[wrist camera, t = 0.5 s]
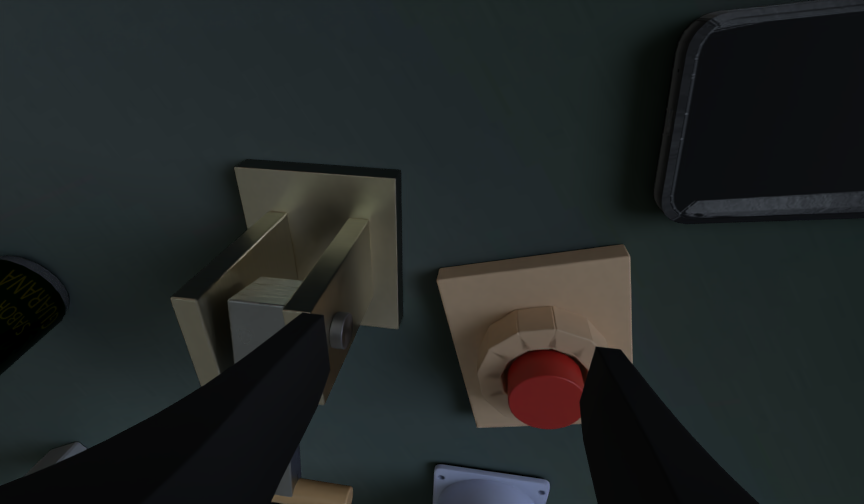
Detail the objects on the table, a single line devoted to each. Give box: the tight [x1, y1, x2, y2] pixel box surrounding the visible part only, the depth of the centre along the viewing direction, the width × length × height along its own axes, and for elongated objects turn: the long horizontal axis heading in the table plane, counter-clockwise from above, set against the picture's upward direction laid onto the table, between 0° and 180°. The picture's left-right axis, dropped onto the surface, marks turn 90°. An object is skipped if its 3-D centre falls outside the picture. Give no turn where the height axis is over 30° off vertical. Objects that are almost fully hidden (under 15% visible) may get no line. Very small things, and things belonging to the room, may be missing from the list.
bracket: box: [170, 159, 403, 405], centre depth 19 cm, size 9×8×8 cm
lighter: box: [25, 442, 87, 476], centre depth 34 cm, size 7×2×8 cm, turn 118°
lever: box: [227, 277, 353, 504], centre depth 18 cm, size 10×6×2 cm, turn 178°
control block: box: [437, 244, 633, 428], centre depth 22 cm, size 11×9×3 cm
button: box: [507, 350, 584, 429], centre depth 20 cm, size 4×4×2 cm
